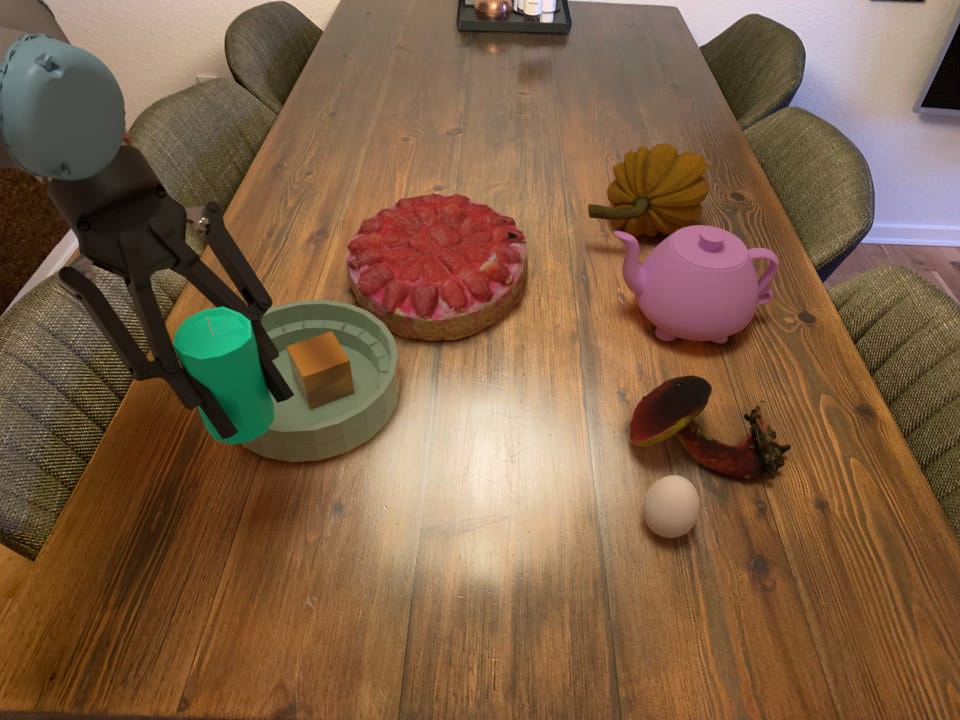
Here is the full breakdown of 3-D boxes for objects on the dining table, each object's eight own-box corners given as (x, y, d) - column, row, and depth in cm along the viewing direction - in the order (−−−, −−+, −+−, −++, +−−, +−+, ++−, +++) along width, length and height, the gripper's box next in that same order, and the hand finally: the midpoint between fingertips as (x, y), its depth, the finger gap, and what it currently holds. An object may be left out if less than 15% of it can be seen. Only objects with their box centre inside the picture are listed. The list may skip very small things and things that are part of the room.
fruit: (703, 221, 115) (700, 260, 98) (604, 214, 119) (584, 250, 102) (715, 133, 109) (714, 157, 92) (610, 129, 113) (590, 152, 96)
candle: (240, 455, 60) (205, 356, 52) (190, 425, 62) (149, 324, 54) (289, 410, 64) (264, 310, 55) (241, 383, 66) (209, 282, 57)
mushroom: (712, 482, 86) (635, 386, 86) (804, 440, 79) (719, 334, 78) (686, 543, 77) (599, 435, 77) (788, 502, 69) (691, 382, 69)
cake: (491, 209, 110) (491, 165, 104) (557, 317, 95) (561, 273, 89) (334, 247, 105) (324, 202, 99) (376, 368, 89) (367, 324, 83)
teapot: (602, 354, 90) (621, 268, 80) (593, 277, 101) (608, 193, 91) (776, 361, 90) (815, 276, 80) (747, 284, 101) (779, 200, 91)
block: (309, 410, 81) (302, 377, 77) (293, 379, 85) (286, 346, 81) (354, 393, 83) (349, 360, 79) (337, 363, 87) (331, 330, 83)
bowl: (253, 495, 74) (241, 461, 70) (202, 369, 86) (189, 333, 82) (430, 422, 81) (429, 387, 77) (359, 316, 94) (354, 280, 90)
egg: (650, 495, 75) (665, 451, 70) (697, 521, 73) (717, 478, 68) (627, 531, 72) (641, 488, 67) (676, 559, 70) (695, 517, 65)
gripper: (184, 144, 63) (327, 367, 67) (-29, 228, 53) (153, 481, 57) (203, 107, 56) (358, 355, 61) (-35, 194, 47) (169, 481, 51)
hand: (258, 416), depth 59 cm, fingers closed on candle, 5 cm apart
